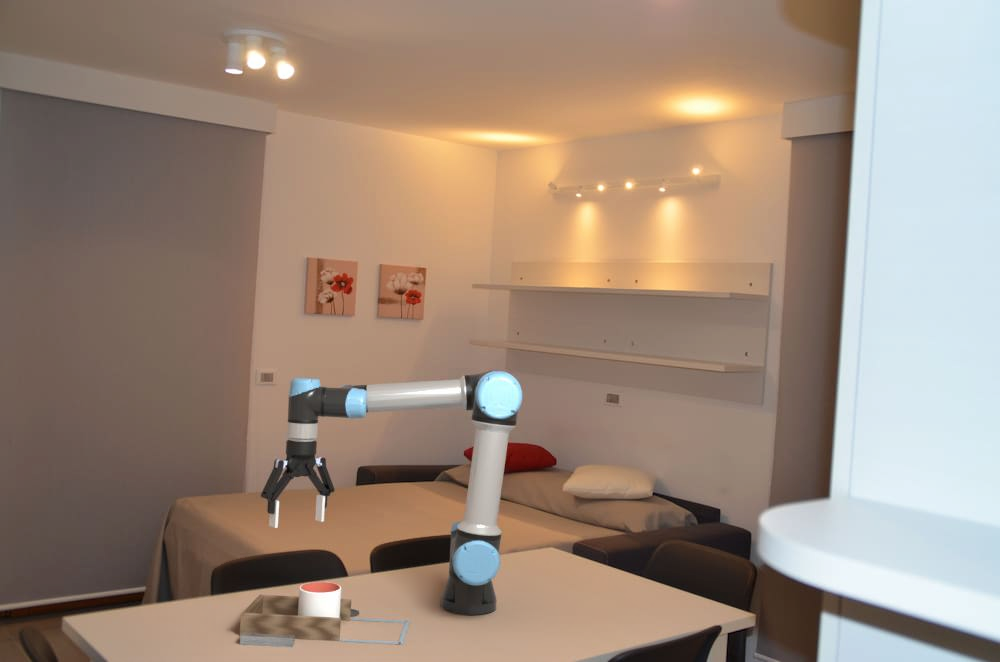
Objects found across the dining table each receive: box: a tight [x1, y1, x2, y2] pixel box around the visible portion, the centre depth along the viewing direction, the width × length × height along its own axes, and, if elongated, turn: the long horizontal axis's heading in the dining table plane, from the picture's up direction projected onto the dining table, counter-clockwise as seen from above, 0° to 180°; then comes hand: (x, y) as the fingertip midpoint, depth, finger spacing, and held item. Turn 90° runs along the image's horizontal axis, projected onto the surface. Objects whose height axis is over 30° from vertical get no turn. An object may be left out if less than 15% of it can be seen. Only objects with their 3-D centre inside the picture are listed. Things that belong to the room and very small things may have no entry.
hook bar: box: [239, 630, 296, 648], centre depth 199 cm, size 12×4×2 cm, turn 90°
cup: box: [298, 581, 342, 618], centre depth 211 cm, size 10×10×10 cm
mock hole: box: [350, 608, 360, 618], centre depth 224 cm, size 6×6×1 cm
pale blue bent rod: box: [340, 617, 410, 646], centre depth 211 cm, size 14×17×1 cm
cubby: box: [239, 594, 352, 642], centre depth 211 cm, size 23×16×5 cm
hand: (296, 523), depth 218 cm, fingers open, 13 cm apart
